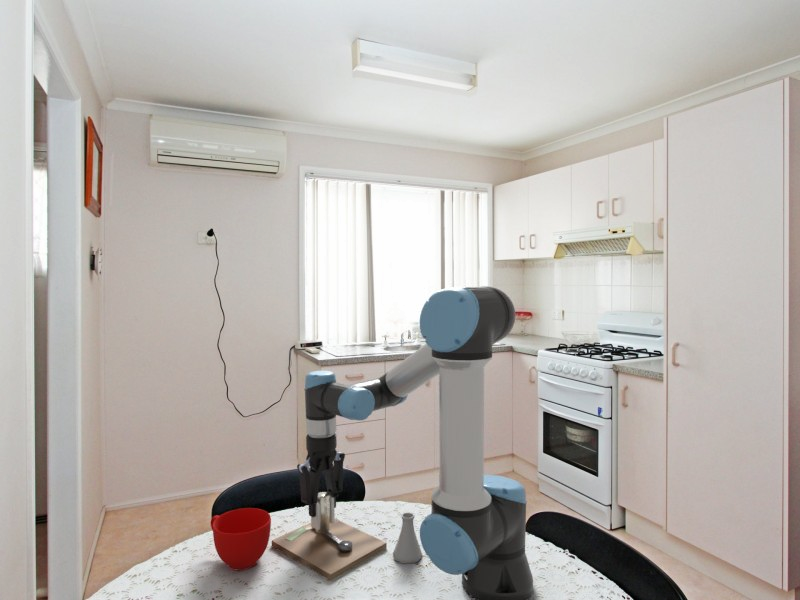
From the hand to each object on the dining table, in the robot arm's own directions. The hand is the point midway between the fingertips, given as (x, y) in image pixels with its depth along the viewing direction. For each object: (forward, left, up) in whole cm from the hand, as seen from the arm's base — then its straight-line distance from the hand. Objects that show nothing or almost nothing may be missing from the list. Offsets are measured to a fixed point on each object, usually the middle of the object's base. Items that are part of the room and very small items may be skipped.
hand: (322, 524), depth 131 cm
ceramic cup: (+8, +19, -4) cm, 21 cm away
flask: (-21, -9, -4) cm, 23 cm away
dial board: (-4, +1, -4) cm, 6 cm away
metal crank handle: (-3, 0, -2) cm, 4 cm away
